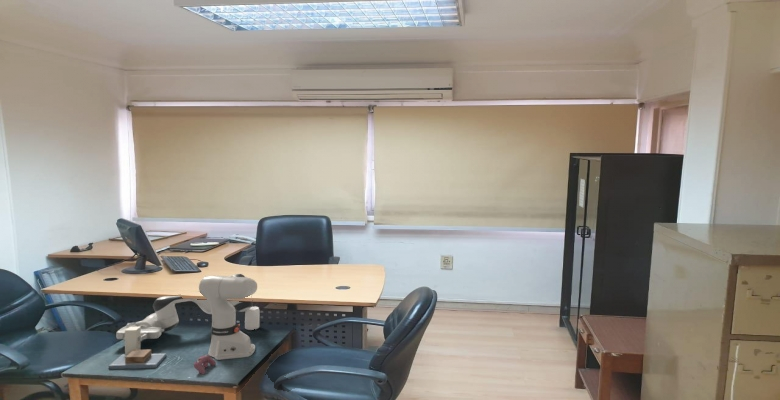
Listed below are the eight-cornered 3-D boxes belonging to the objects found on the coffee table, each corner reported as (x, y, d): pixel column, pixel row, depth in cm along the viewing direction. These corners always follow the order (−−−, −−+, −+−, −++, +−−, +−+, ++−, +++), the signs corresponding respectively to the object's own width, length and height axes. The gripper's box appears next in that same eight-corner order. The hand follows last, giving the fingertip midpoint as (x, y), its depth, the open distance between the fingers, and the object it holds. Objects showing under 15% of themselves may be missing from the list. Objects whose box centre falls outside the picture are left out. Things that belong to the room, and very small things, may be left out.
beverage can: (254, 331, 235) (254, 311, 234) (242, 329, 237) (242, 309, 236) (261, 326, 243) (262, 306, 242) (250, 324, 245) (250, 305, 244)
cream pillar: (140, 349, 206) (140, 326, 205) (135, 353, 201) (136, 330, 200) (129, 349, 205) (130, 326, 204) (124, 354, 200) (125, 330, 200)
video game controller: (209, 367, 194) (203, 353, 194) (217, 364, 193) (211, 350, 193) (196, 377, 184) (190, 363, 184) (204, 373, 183) (198, 359, 183)
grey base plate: (166, 356, 200) (166, 347, 199) (155, 367, 188) (155, 358, 188) (122, 357, 197) (122, 348, 197) (108, 368, 185) (108, 359, 185)
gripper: (165, 334, 217) (154, 345, 204) (124, 334, 214) (110, 346, 201) (165, 322, 217) (154, 333, 203) (124, 323, 214) (110, 333, 200)
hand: (132, 339), depth 202 cm, fingers closed on cream pillar, 5 cm apart
